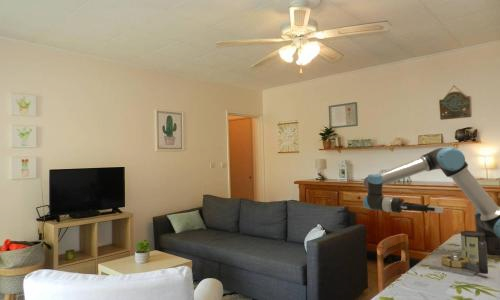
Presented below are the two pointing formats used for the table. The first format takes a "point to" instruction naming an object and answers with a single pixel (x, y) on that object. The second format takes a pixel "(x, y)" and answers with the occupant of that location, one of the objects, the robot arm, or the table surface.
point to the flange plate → (464, 271)
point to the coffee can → (471, 244)
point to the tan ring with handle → (466, 260)
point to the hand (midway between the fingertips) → (442, 210)
